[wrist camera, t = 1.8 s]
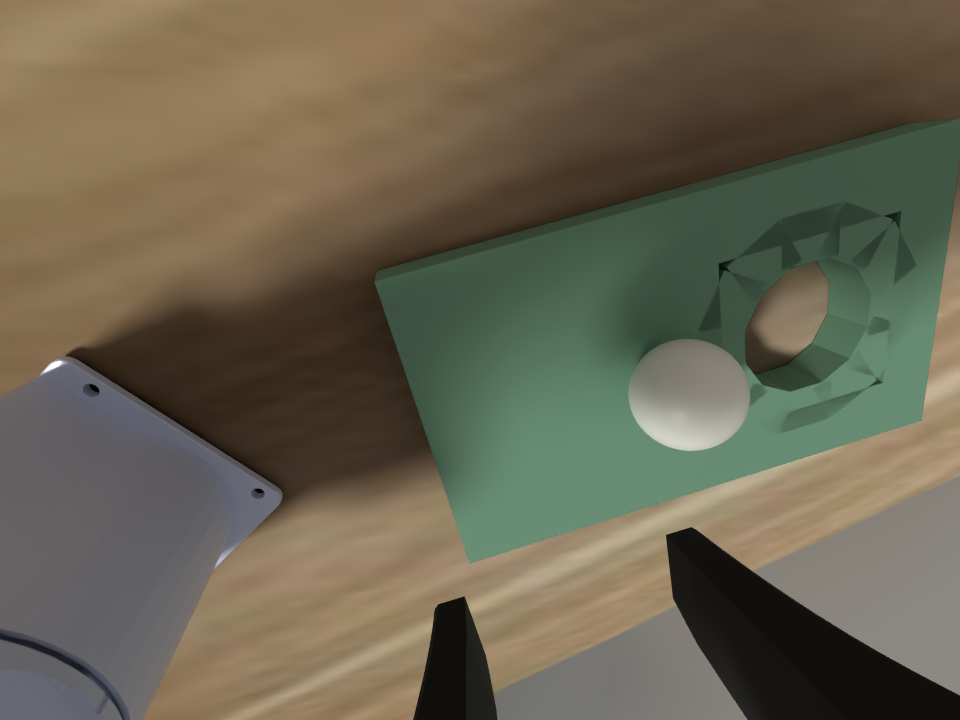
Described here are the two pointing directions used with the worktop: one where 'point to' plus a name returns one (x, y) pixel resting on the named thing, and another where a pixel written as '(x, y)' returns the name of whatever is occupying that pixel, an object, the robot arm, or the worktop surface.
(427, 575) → the worktop surface
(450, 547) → the worktop surface
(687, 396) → the ball
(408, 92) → the worktop surface
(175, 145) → the worktop surface
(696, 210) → the putting mat
